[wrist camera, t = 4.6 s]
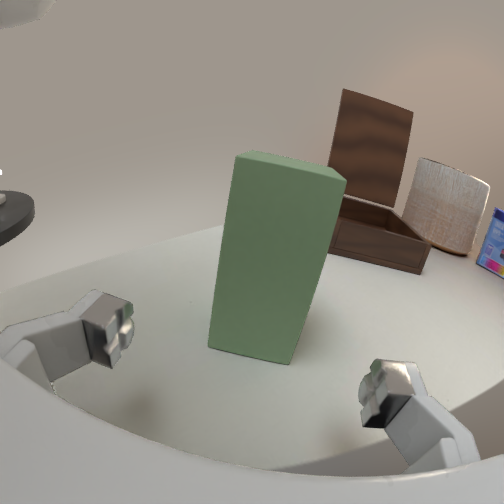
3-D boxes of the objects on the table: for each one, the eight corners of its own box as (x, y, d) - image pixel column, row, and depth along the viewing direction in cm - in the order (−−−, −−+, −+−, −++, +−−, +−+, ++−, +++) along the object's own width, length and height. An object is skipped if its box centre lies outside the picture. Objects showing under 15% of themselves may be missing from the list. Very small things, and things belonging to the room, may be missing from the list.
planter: (477, 266, 44) (503, 191, 37) (403, 237, 49) (426, 156, 42) (456, 241, 59) (475, 182, 53) (396, 217, 64) (412, 156, 58)
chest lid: (413, 112, 41) (404, 115, 45) (343, 88, 42) (339, 93, 46) (393, 208, 47) (386, 204, 51) (322, 188, 48) (320, 186, 52)
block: (207, 346, 17) (235, 155, 12) (225, 303, 21) (251, 149, 17) (288, 365, 16) (347, 180, 12) (291, 318, 21) (333, 168, 17)
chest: (420, 275, 33) (432, 245, 32) (325, 252, 34) (335, 218, 33) (385, 231, 50) (392, 209, 48) (316, 213, 50) (322, 190, 49)
